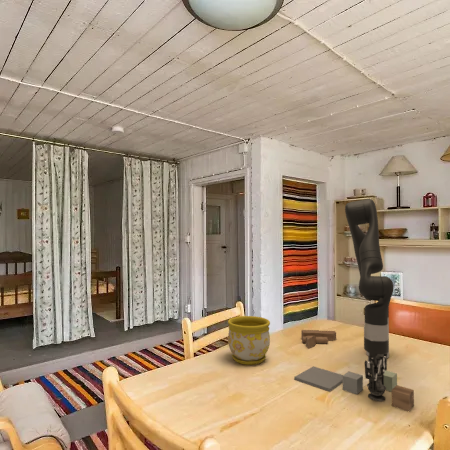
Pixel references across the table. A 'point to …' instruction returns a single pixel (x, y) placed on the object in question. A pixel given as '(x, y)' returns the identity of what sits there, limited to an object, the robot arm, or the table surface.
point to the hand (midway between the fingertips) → (376, 387)
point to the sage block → (390, 380)
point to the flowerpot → (248, 339)
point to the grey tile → (320, 378)
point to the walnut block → (402, 398)
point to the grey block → (353, 382)
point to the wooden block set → (317, 337)
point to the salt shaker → (378, 389)
